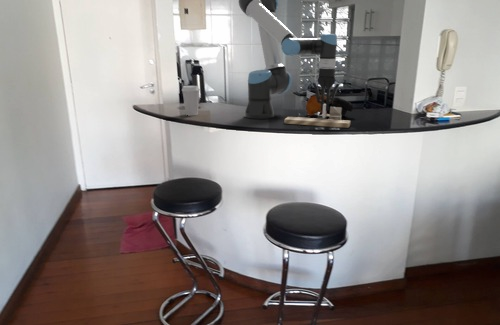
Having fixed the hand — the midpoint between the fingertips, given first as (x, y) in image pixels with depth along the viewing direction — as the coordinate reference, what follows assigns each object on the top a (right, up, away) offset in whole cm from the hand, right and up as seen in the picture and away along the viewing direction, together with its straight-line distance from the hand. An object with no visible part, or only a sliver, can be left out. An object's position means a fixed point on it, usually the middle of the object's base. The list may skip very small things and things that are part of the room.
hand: (324, 117), depth 189 cm
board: (-5, -4, -7) cm, 10 cm away
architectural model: (+5, -3, -1) cm, 6 cm away
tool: (+5, +2, +13) cm, 14 cm away
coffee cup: (-68, +3, +18) cm, 70 cm away
